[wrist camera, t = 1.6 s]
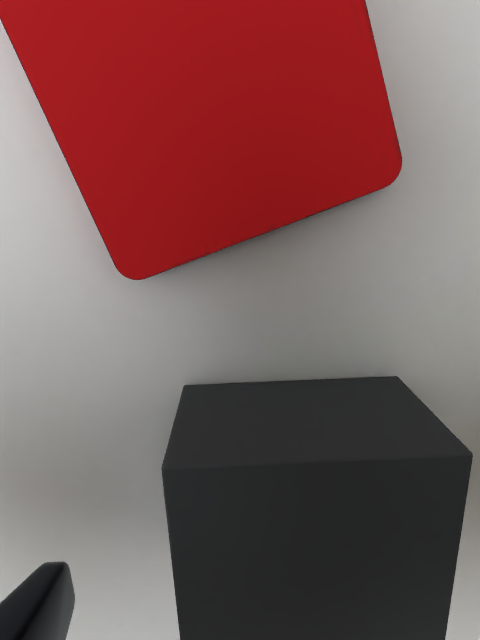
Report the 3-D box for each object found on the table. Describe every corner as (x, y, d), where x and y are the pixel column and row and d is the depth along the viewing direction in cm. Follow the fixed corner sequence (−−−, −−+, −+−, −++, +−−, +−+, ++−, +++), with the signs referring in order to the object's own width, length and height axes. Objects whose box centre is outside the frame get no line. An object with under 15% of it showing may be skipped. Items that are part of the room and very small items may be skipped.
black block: (383, 546, 10) (441, 674, 8) (197, 554, 10) (184, 687, 8) (397, 375, 9) (474, 453, 6) (183, 384, 9) (160, 467, 6)
